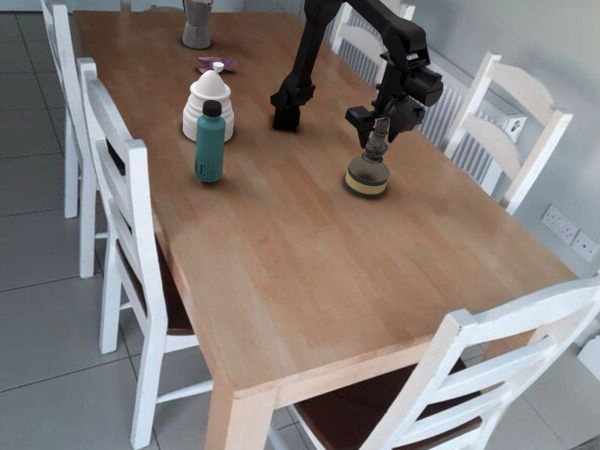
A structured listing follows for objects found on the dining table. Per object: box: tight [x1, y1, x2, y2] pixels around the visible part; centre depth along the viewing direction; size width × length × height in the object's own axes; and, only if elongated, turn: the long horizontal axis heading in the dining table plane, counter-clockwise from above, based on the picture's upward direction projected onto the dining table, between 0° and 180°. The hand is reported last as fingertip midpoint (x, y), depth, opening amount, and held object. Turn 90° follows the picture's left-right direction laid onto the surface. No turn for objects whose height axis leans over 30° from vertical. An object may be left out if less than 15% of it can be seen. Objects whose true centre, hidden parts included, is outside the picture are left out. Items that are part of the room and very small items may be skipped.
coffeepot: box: [181, 0, 214, 50], centre depth 178 cm, size 15×9×18 cm, turn 44°
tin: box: [344, 156, 391, 199], centre depth 136 cm, size 10×10×5 cm
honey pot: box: [182, 62, 235, 143], centre depth 140 cm, size 13×13×18 cm
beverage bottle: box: [193, 100, 226, 183], centre depth 123 cm, size 6×7×20 cm
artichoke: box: [196, 56, 238, 74], centre depth 170 cm, size 5×4×12 cm
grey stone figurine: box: [360, 118, 390, 164], centre depth 129 cm, size 6×6×12 cm
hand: (376, 145), depth 131 cm, fingers closed on grey stone figurine, 8 cm apart
